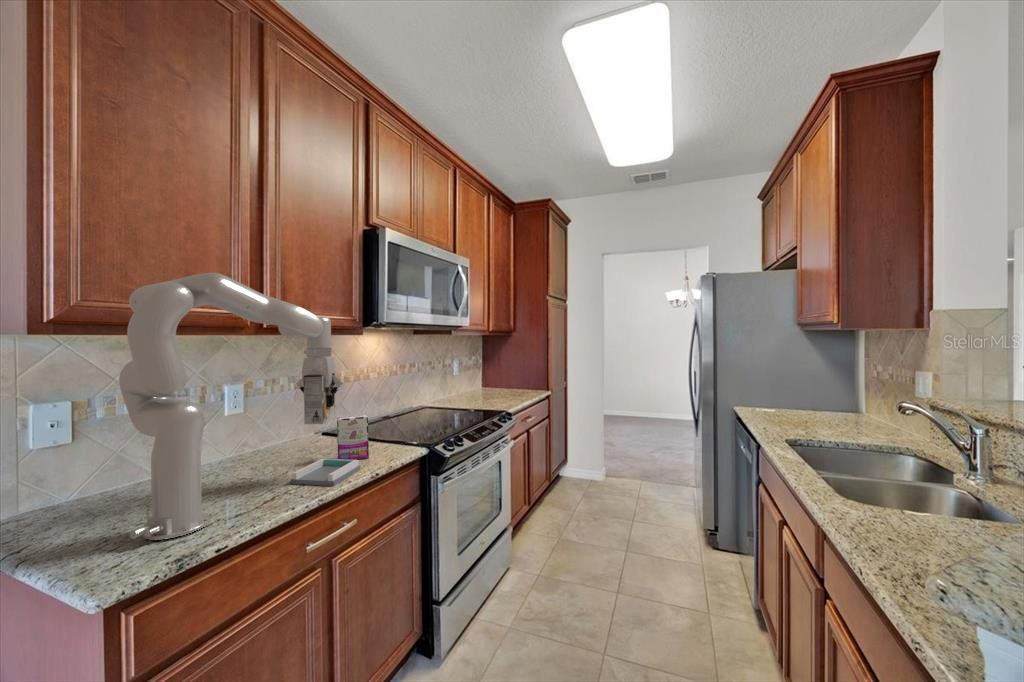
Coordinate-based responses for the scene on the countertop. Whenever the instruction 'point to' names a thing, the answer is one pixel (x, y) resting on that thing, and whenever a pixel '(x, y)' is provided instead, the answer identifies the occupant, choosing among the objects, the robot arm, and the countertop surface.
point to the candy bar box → (353, 437)
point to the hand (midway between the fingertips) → (319, 406)
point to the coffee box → (316, 401)
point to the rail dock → (325, 472)
